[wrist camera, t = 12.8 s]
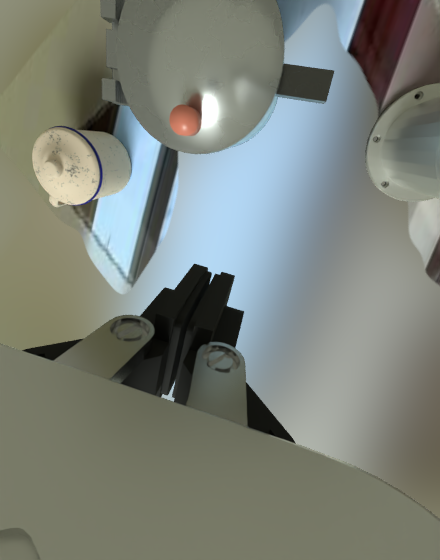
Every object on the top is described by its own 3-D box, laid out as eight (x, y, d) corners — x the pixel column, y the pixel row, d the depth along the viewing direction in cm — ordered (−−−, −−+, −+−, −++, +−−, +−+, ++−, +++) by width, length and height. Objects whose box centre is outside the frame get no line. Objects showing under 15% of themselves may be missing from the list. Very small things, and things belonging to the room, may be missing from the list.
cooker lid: (305, -43, 23) (307, -71, 20) (263, 166, 29) (260, 168, 26) (111, -59, 25) (88, -86, 22) (112, 138, 31) (94, 137, 28)
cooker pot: (337, 28, 33) (363, -30, 22) (303, 162, 39) (310, 169, 28) (156, 5, 35) (99, -57, 24) (150, 135, 41) (102, 132, 30)
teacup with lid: (98, 114, 41) (36, 103, 31) (145, 165, 43) (101, 171, 33) (57, 176, 46) (-9, 185, 36) (100, 220, 48) (49, 240, 37)
